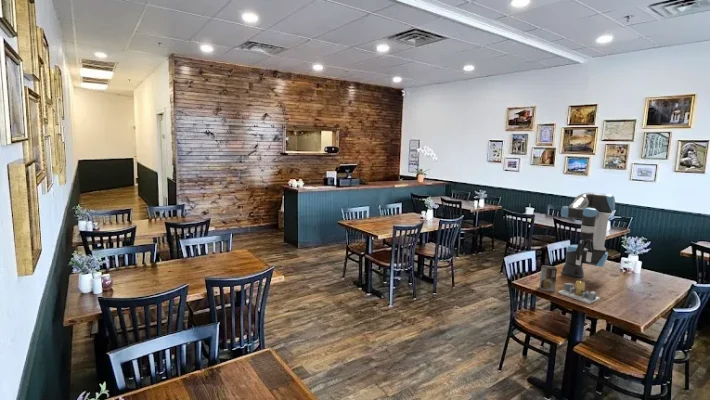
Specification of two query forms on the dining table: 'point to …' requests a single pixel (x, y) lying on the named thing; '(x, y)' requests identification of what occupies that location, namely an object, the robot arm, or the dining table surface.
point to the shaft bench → (569, 291)
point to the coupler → (579, 287)
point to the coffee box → (548, 278)
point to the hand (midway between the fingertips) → (583, 263)
